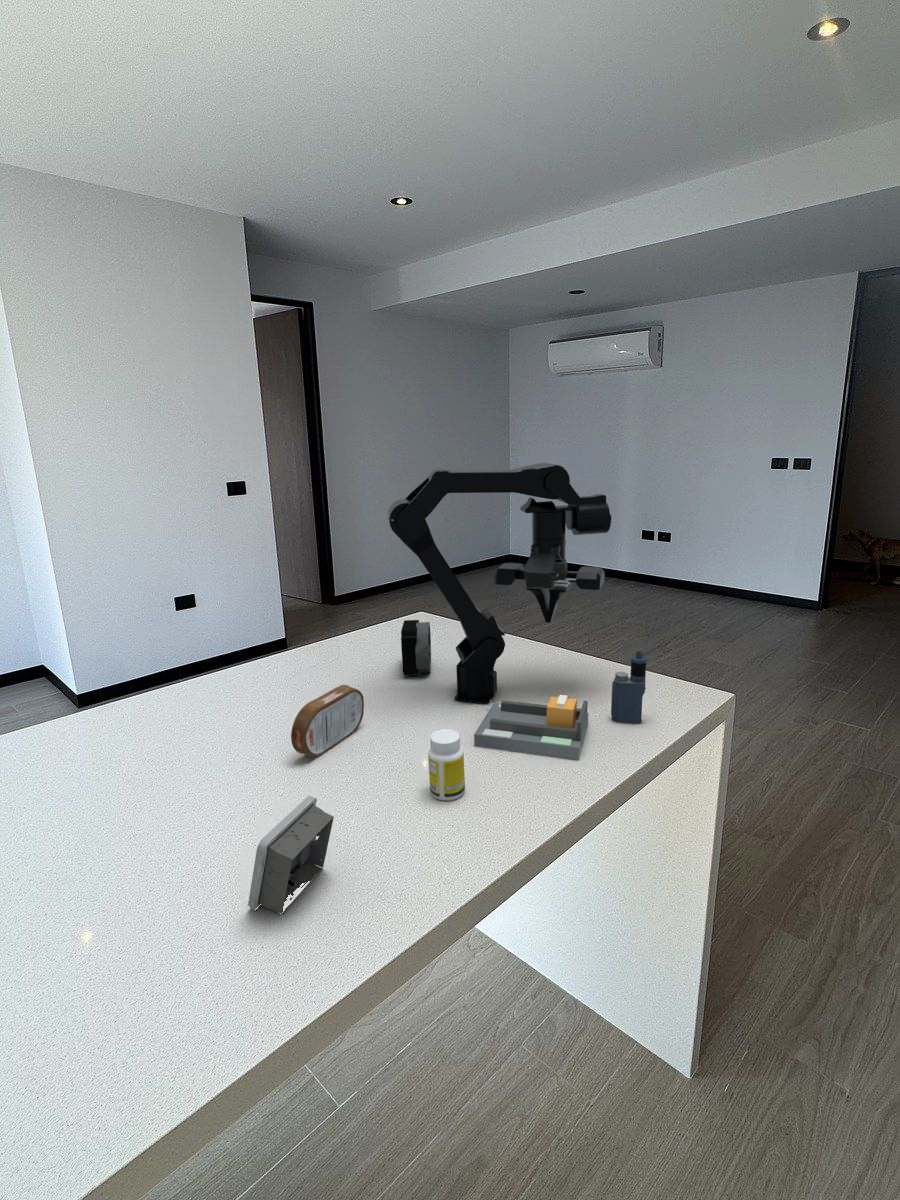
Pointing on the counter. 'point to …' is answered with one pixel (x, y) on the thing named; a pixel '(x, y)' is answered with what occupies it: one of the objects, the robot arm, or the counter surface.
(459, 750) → the supplement bottle
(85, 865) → the counter surface
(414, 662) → the cpu cooler
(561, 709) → the block
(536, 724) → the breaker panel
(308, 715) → the tin
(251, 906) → the electrical switch
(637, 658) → the vaping device
